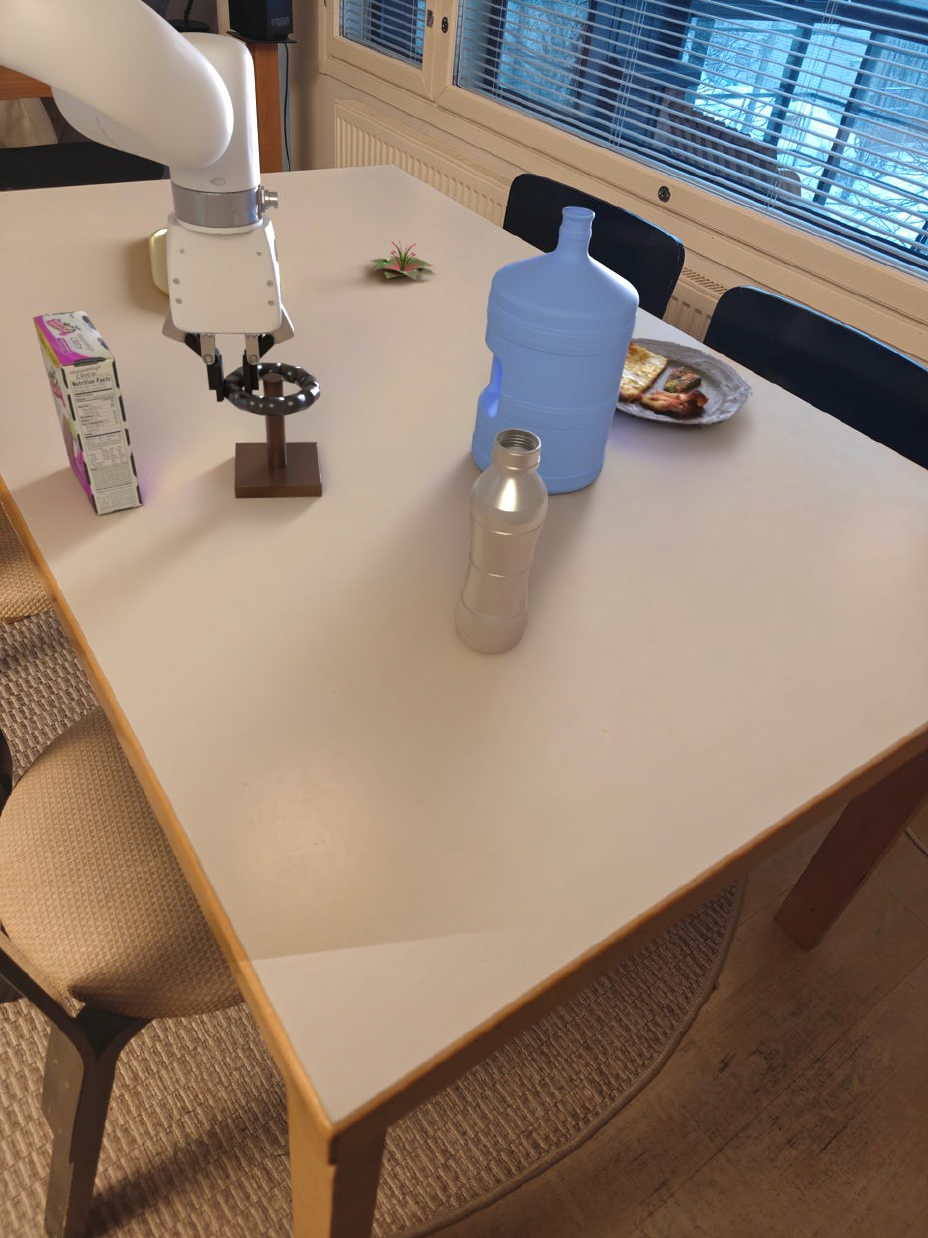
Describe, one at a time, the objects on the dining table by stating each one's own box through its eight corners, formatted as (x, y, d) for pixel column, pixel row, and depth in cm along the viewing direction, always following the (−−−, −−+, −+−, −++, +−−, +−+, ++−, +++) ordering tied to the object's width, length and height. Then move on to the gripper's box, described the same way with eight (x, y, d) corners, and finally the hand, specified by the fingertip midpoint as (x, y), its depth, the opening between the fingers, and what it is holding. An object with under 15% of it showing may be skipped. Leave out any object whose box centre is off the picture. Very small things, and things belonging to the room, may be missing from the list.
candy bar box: (66, 464, 92) (30, 314, 81) (114, 455, 94) (85, 307, 84) (94, 519, 85) (58, 363, 75) (145, 507, 88) (117, 354, 77)
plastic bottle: (444, 653, 75) (466, 453, 62) (462, 606, 81) (486, 412, 68) (515, 670, 75) (552, 471, 62) (529, 621, 80) (566, 428, 67)
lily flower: (380, 286, 140) (381, 257, 137) (357, 260, 148) (357, 232, 145) (448, 282, 144) (450, 254, 141) (422, 257, 152) (423, 230, 149)
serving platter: (258, 232, 154) (257, 222, 153) (287, 308, 129) (287, 298, 128) (147, 231, 149) (146, 222, 148) (156, 311, 124) (154, 300, 123)
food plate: (703, 455, 107) (711, 430, 105) (541, 395, 115) (545, 371, 113) (764, 388, 124) (772, 365, 121) (618, 340, 132) (623, 318, 130)
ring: (223, 418, 84) (221, 401, 83) (224, 375, 91) (223, 358, 90) (322, 418, 86) (322, 402, 85) (316, 376, 93) (316, 360, 92)
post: (235, 498, 90) (225, 397, 83) (236, 454, 97) (227, 357, 90) (321, 496, 92) (320, 398, 85) (317, 453, 99) (315, 358, 91)
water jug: (622, 458, 105) (682, 214, 86) (563, 514, 94) (618, 250, 76) (511, 416, 110) (546, 179, 92) (444, 465, 99) (468, 207, 81)
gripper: (308, 194, 80) (312, 379, 92) (126, 186, 77) (156, 378, 89) (312, 220, 75) (316, 413, 87) (117, 212, 71) (149, 413, 83)
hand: (234, 394), depth 88 cm, fingers closed on ring, 2 cm apart
